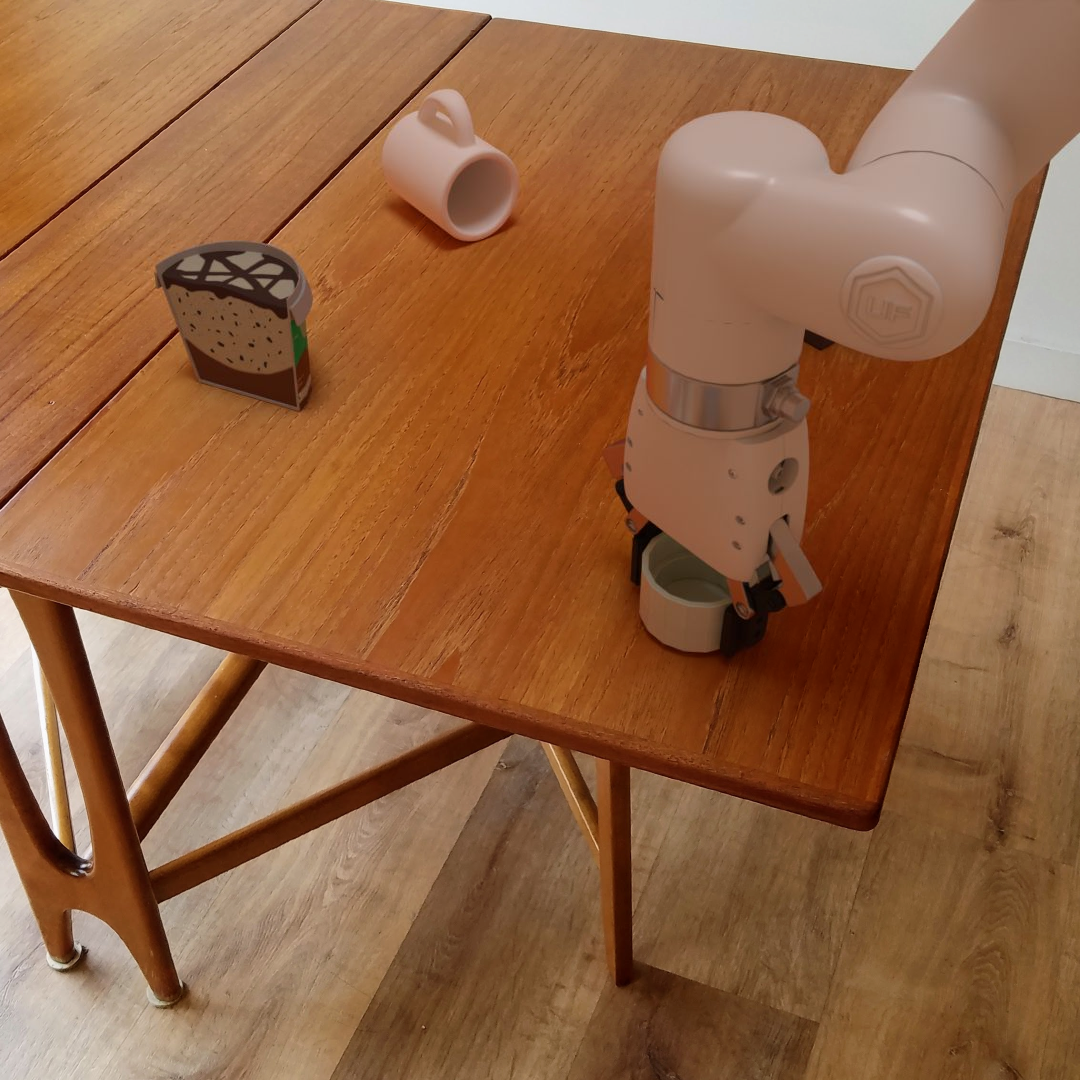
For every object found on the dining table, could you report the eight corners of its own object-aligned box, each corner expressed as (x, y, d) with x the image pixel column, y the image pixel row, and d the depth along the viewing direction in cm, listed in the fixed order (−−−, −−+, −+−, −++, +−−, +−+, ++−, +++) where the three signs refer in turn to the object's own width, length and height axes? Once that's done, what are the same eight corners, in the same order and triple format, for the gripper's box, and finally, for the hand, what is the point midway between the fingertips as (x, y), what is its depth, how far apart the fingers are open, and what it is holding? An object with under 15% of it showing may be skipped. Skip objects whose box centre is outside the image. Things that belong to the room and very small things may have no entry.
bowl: (774, 619, 70) (783, 567, 67) (695, 676, 67) (700, 625, 64) (694, 558, 74) (699, 507, 71) (616, 610, 71) (618, 559, 68)
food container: (360, 371, 89) (341, 257, 82) (317, 416, 85) (293, 301, 78) (229, 335, 93) (201, 223, 86) (182, 377, 89) (148, 263, 82)
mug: (460, 182, 111) (450, 56, 102) (521, 225, 105) (516, 95, 96) (385, 208, 107) (369, 80, 99) (444, 254, 101) (432, 122, 93)
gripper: (909, 421, 55) (847, 660, 67) (654, 273, 64) (642, 507, 77) (804, 491, 51) (759, 729, 64) (552, 324, 61) (556, 560, 73)
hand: (695, 606), depth 70 cm, fingers closed on bowl, 6 cm apart
